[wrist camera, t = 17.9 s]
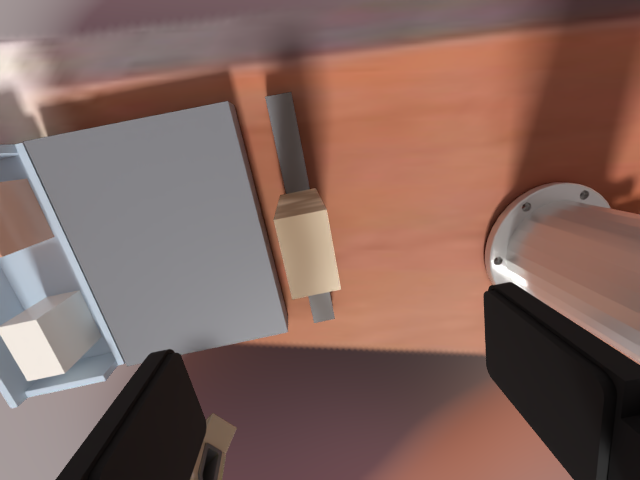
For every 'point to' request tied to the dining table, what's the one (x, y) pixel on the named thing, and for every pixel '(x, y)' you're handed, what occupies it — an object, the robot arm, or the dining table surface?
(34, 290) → the box
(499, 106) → the dining table surface
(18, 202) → the tile terracotta
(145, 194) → the board
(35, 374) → the tile cream
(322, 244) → the scraper
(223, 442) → the gun
